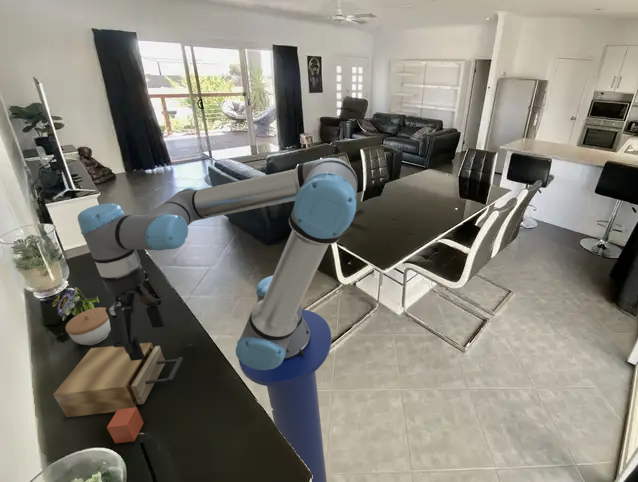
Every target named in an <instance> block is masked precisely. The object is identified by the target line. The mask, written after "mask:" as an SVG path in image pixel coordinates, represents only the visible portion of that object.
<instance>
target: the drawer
mask: <svg viewBox="0 0 638 482" xmlns="http://www.w3.org/2000/svg"><path fill="white" fill-rule="evenodd" d="M153 348H154V349H153V351H152V352H151V353H150V350H148V352H147V354H146V355H145V357H144V359H143V360H142V362H141V363H140V365H139V366H138V368H137V370H136V371H135V373H134V374H133V376H132V378H131V379H130V381H129V383H128V384H127V389H128V391H129V393H130V395H131V397H132V400H133V402H134V401H135V399H137V402H138V403H137V405H143V404H145V403H146V401H147V399H148V397H149V395H150V393H151V392H152V390H153V387H154V385H155V384H159V383H161V384H162V383H167V384H173V382H174V380H175V378H176V376H177V374H178V372H179V371H180V368H181V366H182V363H183V361H184V357H182V356H179V357H178V358H175V359H165V357H164V354H163V351H162V348H161V346H160V345H155V346H153ZM166 364H173V367H172V369H171V371H170V373H169V374H168V377H167V378H159V376H160V375H161V373H162V371H163V368H164V367H165V365H166Z"/></svg>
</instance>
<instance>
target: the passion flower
mask: <svg viewBox="0 0 638 482" xmlns="http://www.w3.org/2000/svg"><path fill="white" fill-rule="evenodd" d="M61 296H62V298H60V294H58V295H57V296H56V298H55V299H54V300H53V302H52V305H51V308H52V309H53V308H55V307H56V306H57V307H56V310H57V311H58V312H57V316H59V317H62V322H65V321H66V320H67V319H68V317H69V316H70V315H71V314H72V316H74V317H75V316H76V315H78V314H80V313H82V312H84V311H87V310H89V309H93V308H96V307H95V304H94V303H96V302H97V304H100V299H99V296H93V297H91V298H86V297H85V295H84V294H83V292H82V291H81V289H80V288H78V287H74V289H70V290H67V291H66V292H65V293H64V294H62V295H61ZM77 304H78V305H77Z"/></svg>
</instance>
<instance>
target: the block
mask: <svg viewBox="0 0 638 482" xmlns="http://www.w3.org/2000/svg"><path fill="white" fill-rule="evenodd" d="M143 425H144V420H143V418H142V416H141V414H140V412H139V409H138V406H136V407H134V408H125V409H118V410H117V411H116V412H114V415H113V416H112V418H111V420H110V422H109V423H108V424H107V427H106V429H107V431H108V433H109V434H110V435H109V436H110V437H111V438H112V440H113V442H114V444H122V443H129V442H135V441H136V439H137V437H138V435H139V433H140V431H141V429H142V428H143Z"/></svg>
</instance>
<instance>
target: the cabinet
mask: <svg viewBox="0 0 638 482" xmlns="http://www.w3.org/2000/svg"><path fill="white" fill-rule="evenodd" d="M139 344H140V346H141V349H142V351H143V354H144V356H145V355H146V354H147V352H148V350H150V353H151V352H152V351H153V349H154V345H153V343H152V342H143V343H142V342H141V343H139ZM141 362H142V360H133V361H131V359H130V357H129V355H128V354H127V353H126V351H125V349H124V347H116V348H114V346H113V345H112V346H101V347H99V346H98V347H91V348H90V349H89V350H88V351H87V353H86V354H85V355H84V356H83V357H82V359H81V360H80V361H79V363H78V364H77V365H76V366H75V367H74V368H73V369H72V371H71V372H70V373H69V374H68V376H67V377H66V378H65V379H64V380H63V381H62V383H61V384H60V385H59V387H58V388H57V389H56V390H55V391H54V393H53V394H52V395H53V397H54V398H55V401H56V402H57V404H58V405H59V408H61V410H62V412H63V413H64V416H65V417H66V418H75V417H83V416H91V415H100V414H108V413H116V411H117V410H118V409H125V408H134V407H137V405H138V402H137V399H135V401H134V402H133V400H132V397H131V395H130V393H129V391H128V389H127V384H128V383H129V381H130V379H131V378H132V376H133V374H134V373H135V371H136V370H137V368H138V366H139V365H140V363H141Z"/></svg>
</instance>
